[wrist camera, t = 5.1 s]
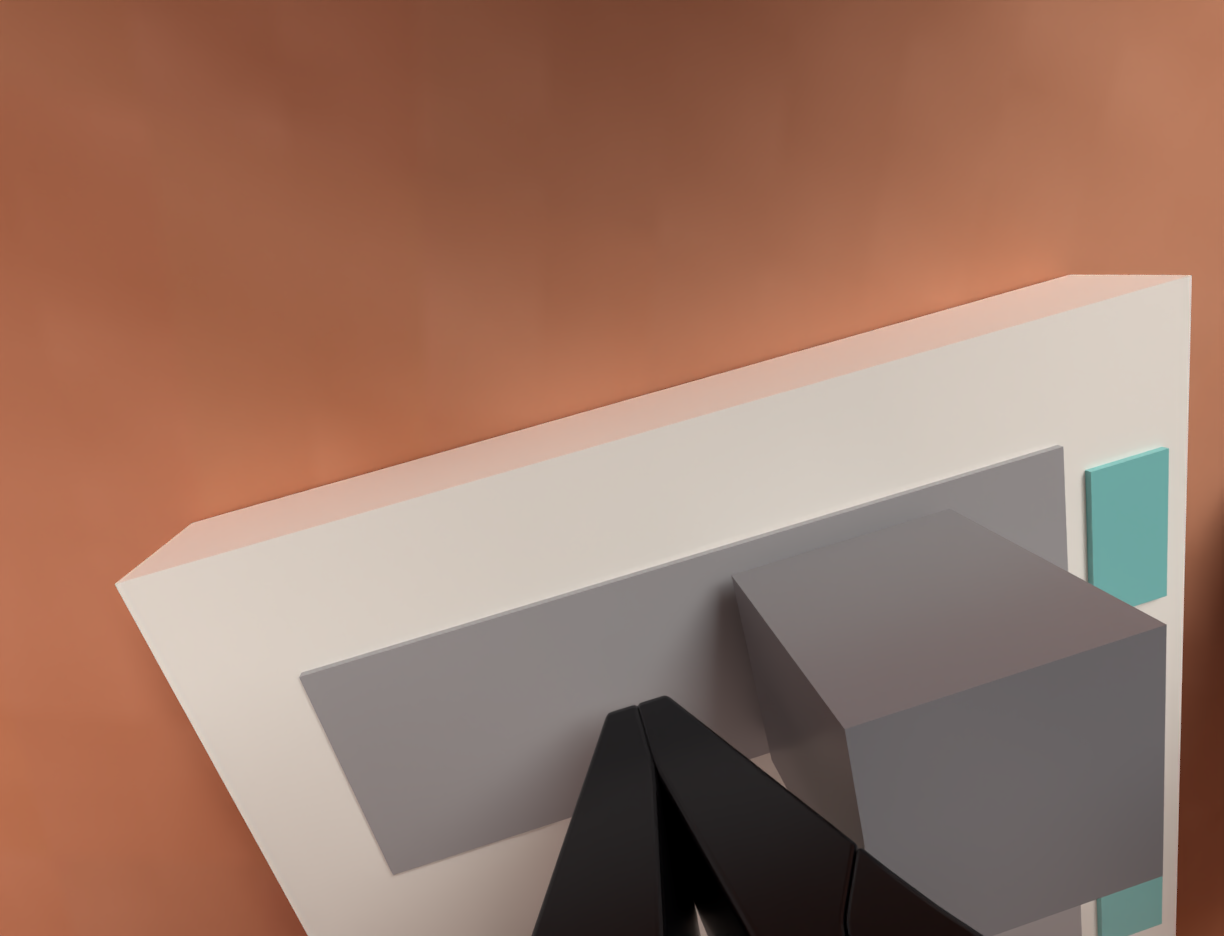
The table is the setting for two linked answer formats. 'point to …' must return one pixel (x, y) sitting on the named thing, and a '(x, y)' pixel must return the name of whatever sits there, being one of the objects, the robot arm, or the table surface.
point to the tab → (965, 715)
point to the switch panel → (645, 588)
